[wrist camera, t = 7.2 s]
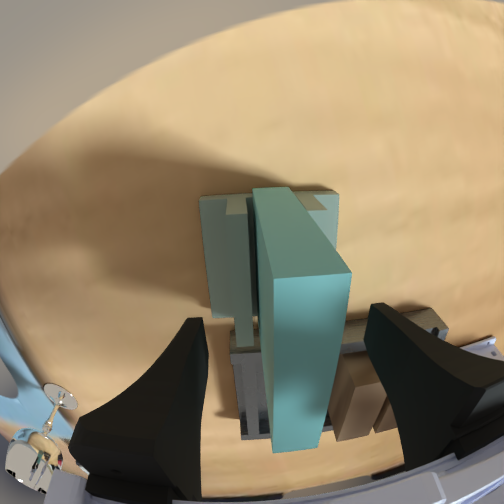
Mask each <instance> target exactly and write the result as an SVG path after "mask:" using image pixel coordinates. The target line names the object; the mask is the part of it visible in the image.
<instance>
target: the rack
mask: <svg viewBox="0 0 504 504" xmlns="http://www.w3.org/2000/svg"><path fill="white" fill-rule="evenodd" d="M400 314H402V315H403V316H405V317H406V318H408V319H409V320H411V321H412V322H414V323H415V324H417V325H418V326H420V327H421V328H423V329H424V330H426V331H428V332H429V333H431V334H433V335H434V336H436V337H438V338H440V339H442V340H443V341H444V340H445V337H446V335H447V332H448V330H449V328H448V327H447V326H446V324H445V323H444V322H443V321H442V320H441V318H440V317H439V316H438V315H437V314H436V312H435V311H434V310H433V309H432V308H429V309H423V310H418V311H412V312H406V313H400ZM367 321H368V318H366V319H359V320H351V321H345V325H344V331H343V337H342V342H341V348H340V353H339V354H346V353H352V352H359V351H365V350H366V347H365V343H364V340H363V339H364V334H365V330H366V325H367ZM253 337H254V346H247V347H237V343H236V332H235V331H230V360H231V364H233V370H234V378H235V386H236V394H237V402H238V409H239V417H240V428H241V440H254V439H268V438H271V434H270V425H269V416H268V408H267V399H266V390H265V381H264V372H263V363H262V354H261V345H260V336H259V329H256V330H253ZM338 359H339V358H338ZM337 364H338V363H337ZM336 369H337V368H336ZM335 374H336V373H335ZM331 430H333V426H332V423H331V419H330V416H329V412H328V409H327V413H326V417H325V421H324V425H323V429H322V432H325V431H331Z"/></svg>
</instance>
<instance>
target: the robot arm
mask: <svg viewBox="0 0 504 504" xmlns="http://www.w3.org/2000/svg"><path fill="white" fill-rule="evenodd" d="M363 340H364V343H365V347H366V350H367V353H368V356H369V359H370V361H371V363H372V365H373V367H374V369H375V371H376V373H377V375H378V377H379V379H380V382H381V384H382V386H383V388H384V390H385V392H386V394H387V396H388V399H389V401H390V404H391V407H392V410H393V413H394V417H395V420H396V424H397V428H398V431H399V435H400V440H401V445H402V450H403V455H404V462H405V469H406V472H405V473H401V474H398V475H396V476H392V477H389V478H386V479H383V480H379V481H376V482H372V483H368V484H365V485H361V486H357V487H353V488H349V489H344V490H339V491H335V492H329V493H324V494H319V495H312V496H306V497H298V498H290V499H281V500H271V501H256V502H202V494H201V467H200V441H201V419H202V411H203V404H204V398H205V391H206V385H207V378H208V359H209V353H208V347H207V341H206V336H205V330H204V324H203V318H202V317H196V318H187V319H186V320H185V322H184V324H183V325H182V327H181V328H180V330H179V331H178V333H177V334H176V336H175V337H174V338H173V340H172V341H171V342H170V344H169V345H168V347H167V348H166V349H165V351H164V352H163V353H162V354H161V355H160V357H159V358H158V359H157V360H156V361H155V362H154V364H153V365H152V366H151V367H150V368H149V369H148V370H147V371H146V372H145V373H144V374H143V375H142V376H141V377H140V378H139V379H138V380H137V381H136V382H134V383H133V384H132V385H131V386H130V387H128V388H127V389H126V390H125V391H123V392H122V393H121V394H119V395H118V396H116V397H115V398H114V399H112V400H110V401H109V402H107V403H106V404H104V405H102V406H101V407H99V408H97V409H95V410H93V411H91V412H89V413H87V414H85V415H83V416H81V417H80V418H79V420H78V422H77V424H76V426H75V429H74V432H73V435H72V438H71V440H70V443H69V446H68V449H69V452H70V453H71V455H72V456H73V457H74V459H75V460H76V461H77V462H78V463H79V464H80V465H82V466H83V467H84V468H85V469H86V470H87V471H88V472H89V476H88V480H87V479H85V478H83V477H81V476H78V475H75V474H72V473H68V472H65V471H62V470H59V469H54V471H53V474H52V477H51V480H50V484H49V487H48V490H47V494H46V497H45V501H44V504H504V356H503V355H502V354H501V352H500V351H499V350H498V349H497V348H496V346H495V345H494V343H495V341H496V338H495V337H494V336H493V337H490V338H487V339H485V340H482V341H479V342H476V343H473V344H470V345H467V346H463V347H460V348H458V347H456V346H454V345H452V344H450V343H448V342H446V341H443V340H442V339H440V338H438V337H436V336H434V335H433V334H431V333H429V332H428V331H426V330H424V329H423V328H421V327H420V326H418V325H417V324H415V323H414V322H412V321H411V320H409V319H408V318H406V317H405V316H403V315H402V314H400V313H399V312H397V311H396V310H394V309H393V308H391V307H390V306H388V305H387V304H385V303H375V304H371V306H370V311H369V316H368V321H367V325H366V330H365V334H364V339H363Z"/></svg>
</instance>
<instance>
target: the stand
mask: <svg viewBox="0 0 504 504" xmlns="http://www.w3.org/2000/svg"><path fill="white" fill-rule="evenodd" d="M292 192H293V193H294V195H295V196H296V197H297V199H298V200H299V201H300V203H301V204H302V205H303V206H304V208H305V209H306V210H307V212H308V213H309V214H310V216H311V217H312V218H313V220H314V221H315V222H316V224H317V225H318V226H319V228H320V229H321V230H322V232H323V233H324V234H325V236H326V237H327V238H328V240H329V241H330V243H331V244H332V245H333V247H334V248H335V250H336V243H337V229H338V212H339V194H338V193H337V192H335V191H292ZM199 208H200V218H201V228H202V237H203V246H204V255H205V264H206V272H207V280H208V288H209V295H210V303H211V310H212V317H213V318H228V317H234V321H235V332H236V343H237V347H247V346H254V337H253V317H252V316H258V312H257V288H256V264H255V241H254V218H253V196H252V193H244V194H227V195H212V196H201V197H200V199H199Z"/></svg>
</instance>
